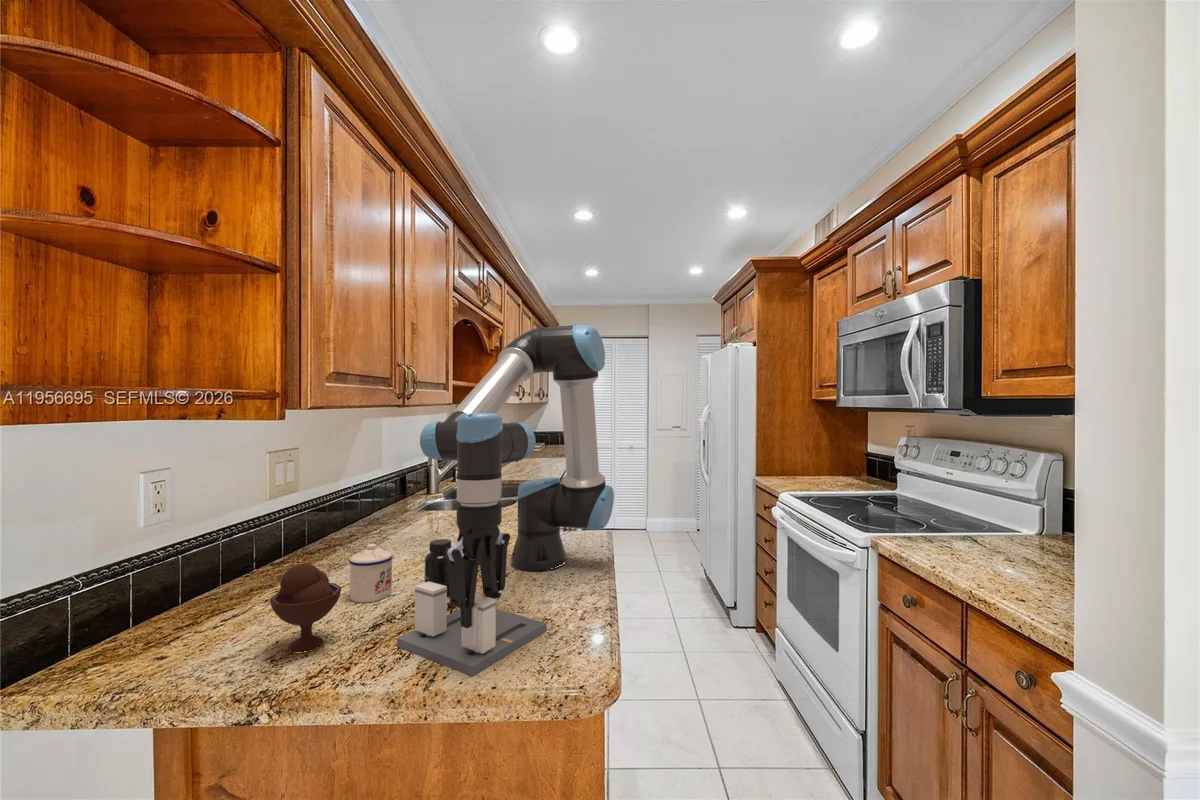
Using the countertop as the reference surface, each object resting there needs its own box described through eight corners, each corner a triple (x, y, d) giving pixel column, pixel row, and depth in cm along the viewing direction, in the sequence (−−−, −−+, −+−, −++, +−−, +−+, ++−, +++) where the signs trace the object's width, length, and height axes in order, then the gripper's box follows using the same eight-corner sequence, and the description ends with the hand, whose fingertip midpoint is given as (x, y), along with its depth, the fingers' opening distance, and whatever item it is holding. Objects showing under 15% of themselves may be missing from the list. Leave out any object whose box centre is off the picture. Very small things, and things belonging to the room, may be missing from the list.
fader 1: (428, 629, 94) (428, 581, 94) (446, 635, 91) (447, 586, 91) (414, 635, 91) (414, 586, 91) (433, 642, 88) (433, 591, 88)
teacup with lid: (381, 603, 109) (382, 550, 109) (340, 603, 109) (341, 550, 109) (404, 584, 121) (404, 536, 121) (366, 584, 121) (367, 536, 121)
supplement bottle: (417, 597, 112) (418, 543, 113) (436, 586, 119) (437, 536, 119) (443, 600, 110) (443, 546, 110) (461, 590, 117) (461, 539, 117)
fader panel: (475, 610, 105) (475, 602, 105) (546, 631, 95) (546, 622, 95) (396, 646, 89) (396, 637, 89) (472, 676, 79) (472, 666, 79)
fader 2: (474, 644, 87) (474, 593, 88) (495, 652, 85) (496, 599, 85) (461, 652, 85) (461, 599, 85) (482, 659, 82) (482, 605, 82)
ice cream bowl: (342, 651, 87) (343, 565, 87) (266, 667, 82) (267, 575, 82) (340, 627, 96) (340, 550, 97) (271, 641, 91) (272, 558, 91)
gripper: (496, 493, 94) (495, 618, 94) (425, 508, 80) (424, 654, 80) (526, 497, 90) (526, 627, 90) (458, 513, 76) (457, 667, 76)
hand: (478, 639), depth 85 cm, fingers closed on fader 2, 3 cm apart
